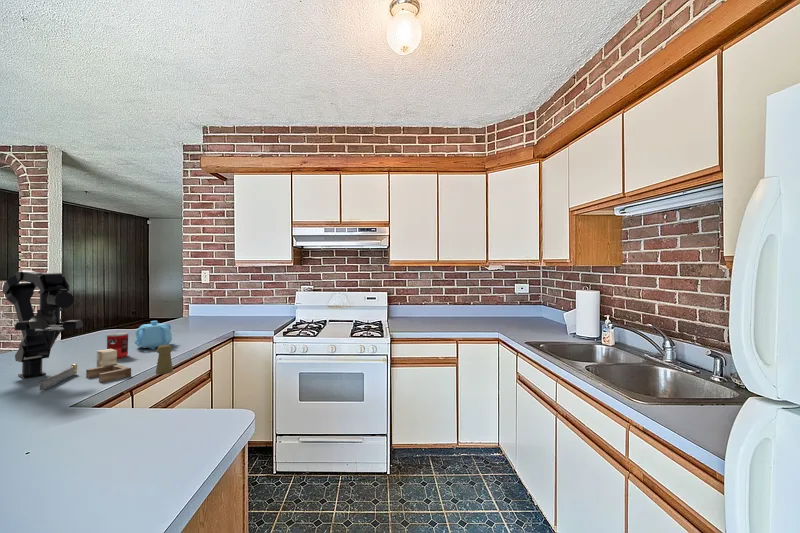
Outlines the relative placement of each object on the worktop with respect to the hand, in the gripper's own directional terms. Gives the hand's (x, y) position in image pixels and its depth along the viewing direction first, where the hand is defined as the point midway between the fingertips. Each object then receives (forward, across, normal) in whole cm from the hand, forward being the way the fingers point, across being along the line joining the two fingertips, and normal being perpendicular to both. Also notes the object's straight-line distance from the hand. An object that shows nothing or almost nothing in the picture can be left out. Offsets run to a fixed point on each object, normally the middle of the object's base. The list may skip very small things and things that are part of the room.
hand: (49, 348), depth 145 cm
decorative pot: (+12, +17, +56) cm, 60 cm away
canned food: (+12, +9, +35) cm, 38 cm away
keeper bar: (+11, +5, -3) cm, 13 cm away
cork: (+12, +37, +4) cm, 39 cm away
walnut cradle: (+12, +18, 0) cm, 22 cm away
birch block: (+12, +14, +12) cm, 22 cm away
